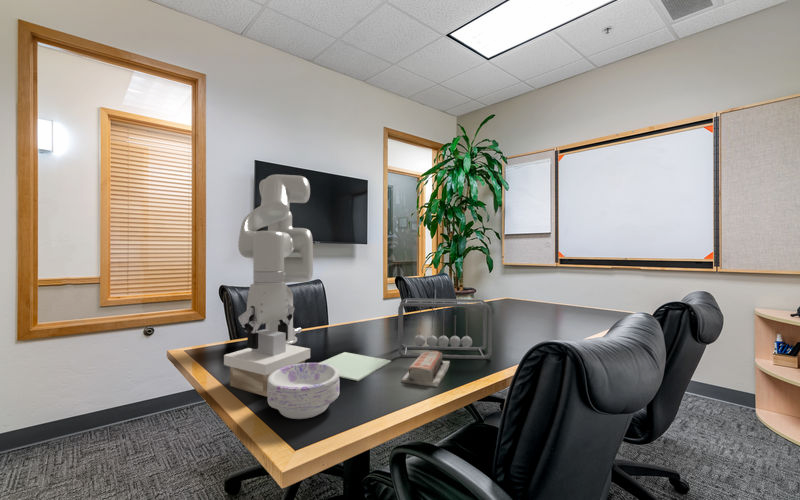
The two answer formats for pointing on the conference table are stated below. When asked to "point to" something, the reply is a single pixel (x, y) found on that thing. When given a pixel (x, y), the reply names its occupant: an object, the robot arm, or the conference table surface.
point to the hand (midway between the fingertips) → (268, 343)
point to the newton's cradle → (443, 340)
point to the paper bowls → (303, 389)
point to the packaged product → (427, 369)
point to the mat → (355, 365)
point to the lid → (267, 354)
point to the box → (250, 380)
